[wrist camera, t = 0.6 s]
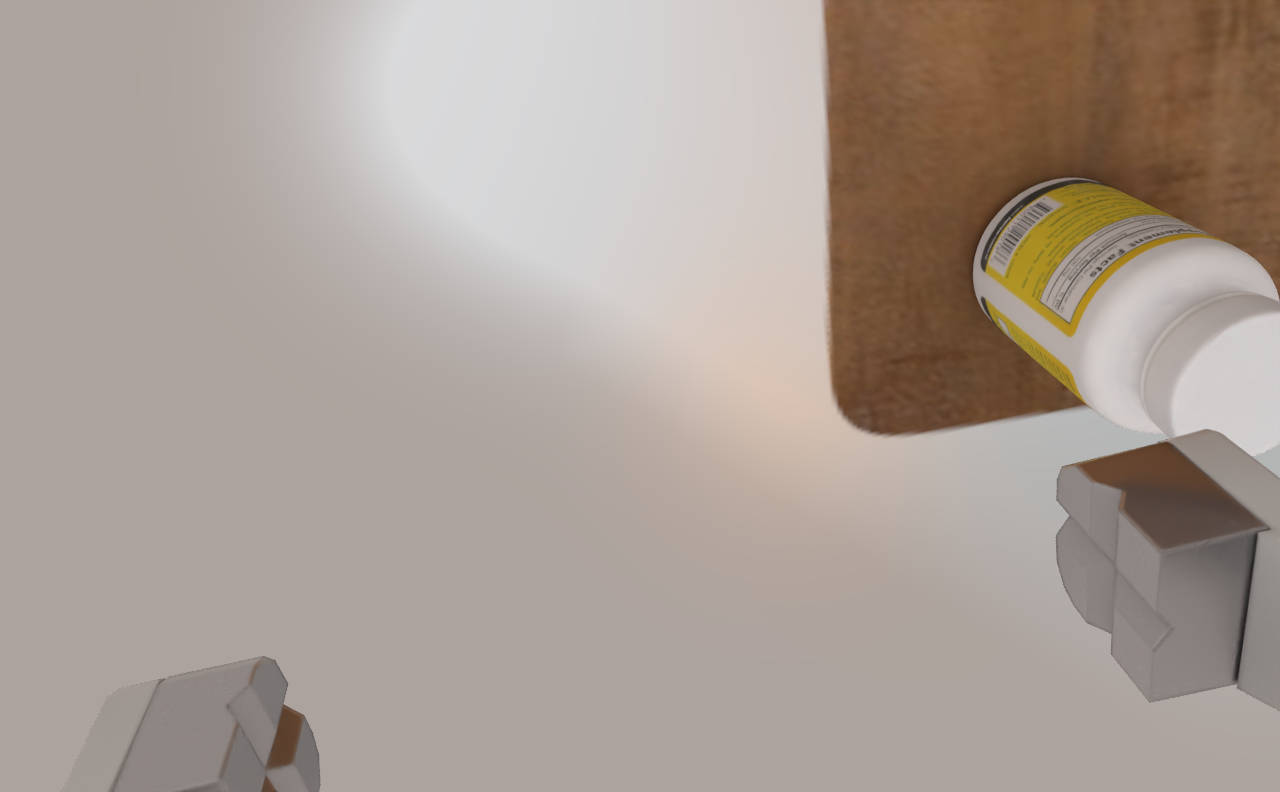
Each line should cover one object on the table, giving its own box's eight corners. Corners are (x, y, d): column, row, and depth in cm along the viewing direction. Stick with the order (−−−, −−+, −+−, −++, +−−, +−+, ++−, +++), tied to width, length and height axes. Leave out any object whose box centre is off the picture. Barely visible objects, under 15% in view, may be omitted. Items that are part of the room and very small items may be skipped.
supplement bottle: (1120, 318, 34) (1335, 471, 25) (964, 343, 33) (1127, 506, 25) (1140, 159, 31) (1386, 268, 22) (971, 185, 31) (1155, 306, 22)
